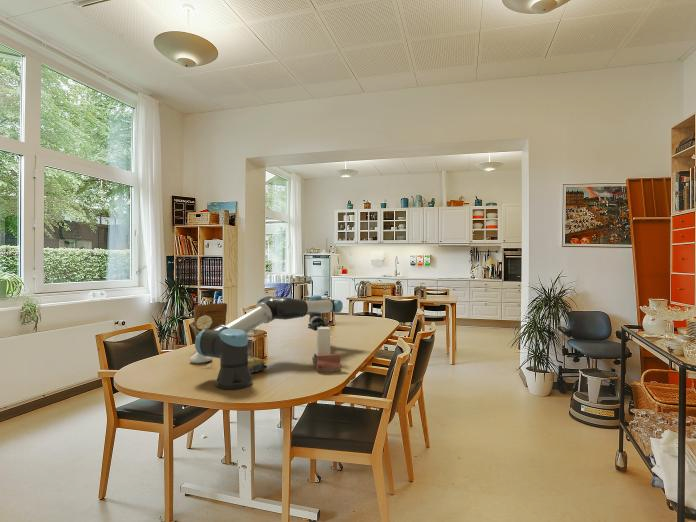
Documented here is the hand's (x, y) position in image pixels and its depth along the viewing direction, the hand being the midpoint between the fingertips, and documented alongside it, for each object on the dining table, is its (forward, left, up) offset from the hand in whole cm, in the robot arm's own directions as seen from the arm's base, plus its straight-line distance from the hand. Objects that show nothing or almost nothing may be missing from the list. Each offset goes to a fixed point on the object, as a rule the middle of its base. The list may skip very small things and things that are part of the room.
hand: (322, 330), depth 221 cm
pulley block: (-28, -28, -16) cm, 43 cm away
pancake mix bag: (-73, -2, -16) cm, 75 cm away
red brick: (+7, -12, -15) cm, 21 cm away
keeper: (+4, -7, -13) cm, 15 cm away
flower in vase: (-58, -27, -16) cm, 66 cm away
